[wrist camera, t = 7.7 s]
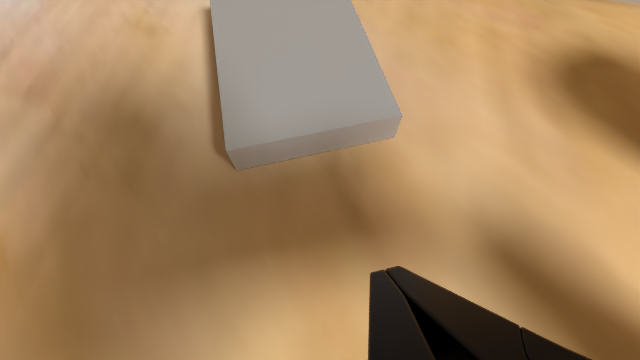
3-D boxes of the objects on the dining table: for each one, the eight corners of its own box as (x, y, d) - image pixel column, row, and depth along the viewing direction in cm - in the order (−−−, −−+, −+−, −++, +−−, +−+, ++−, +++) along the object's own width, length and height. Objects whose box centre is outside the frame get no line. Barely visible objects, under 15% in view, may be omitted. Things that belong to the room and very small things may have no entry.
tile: (402, 115, 17) (339, -26, 23) (225, 151, 16) (209, -5, 23) (393, 141, 20) (338, 7, 26) (238, 173, 19) (220, 27, 25)
